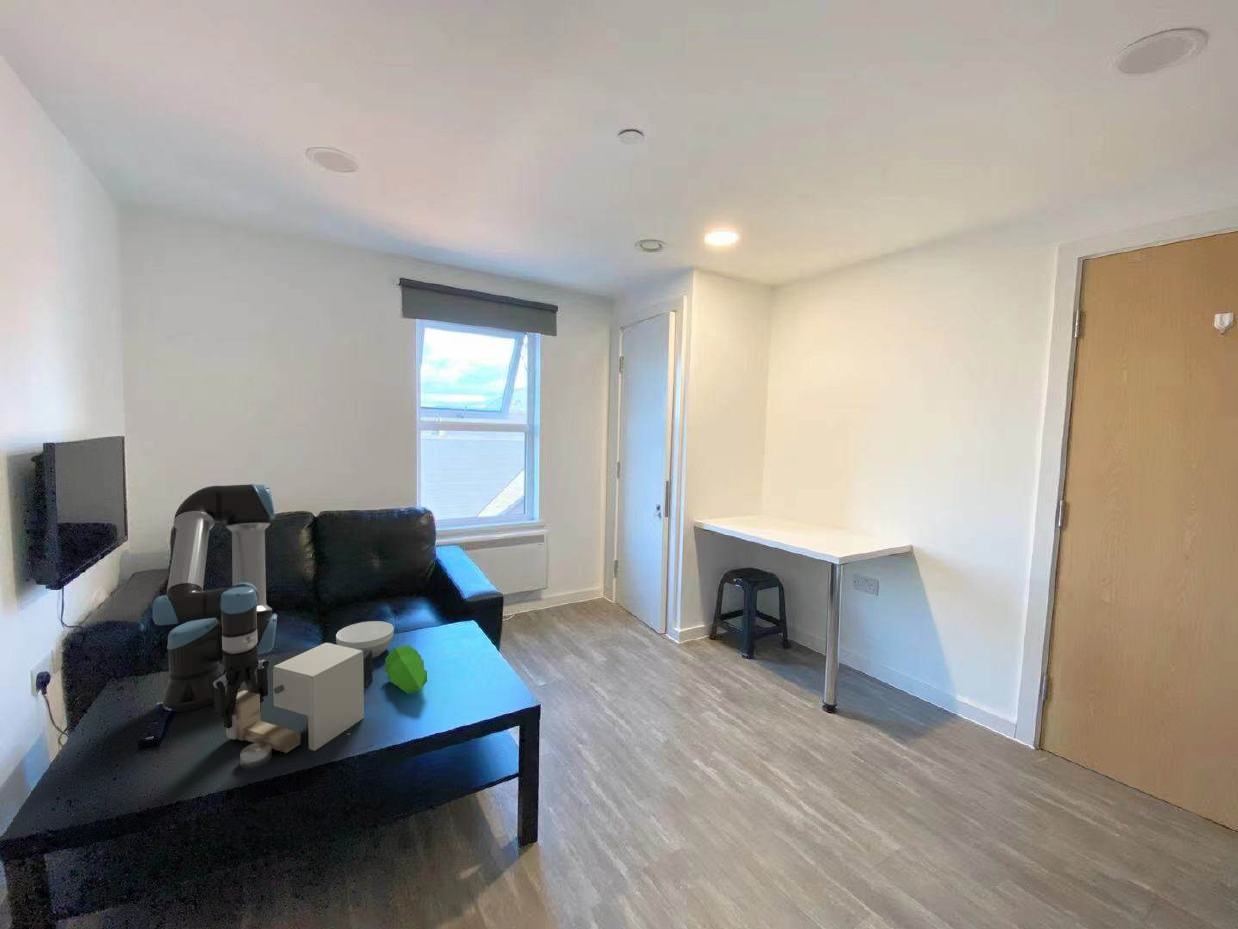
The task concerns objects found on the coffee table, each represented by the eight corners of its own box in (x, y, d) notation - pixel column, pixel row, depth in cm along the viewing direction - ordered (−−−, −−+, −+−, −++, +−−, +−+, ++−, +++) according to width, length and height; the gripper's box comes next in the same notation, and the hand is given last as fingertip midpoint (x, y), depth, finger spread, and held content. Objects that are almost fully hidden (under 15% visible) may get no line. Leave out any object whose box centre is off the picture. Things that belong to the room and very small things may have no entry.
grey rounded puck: (237, 772, 125) (236, 760, 125) (244, 756, 131) (243, 745, 130) (268, 765, 127) (268, 754, 127) (274, 750, 133) (273, 739, 133)
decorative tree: (406, 631, 179) (430, 663, 154) (420, 658, 182) (445, 693, 157) (373, 651, 173) (392, 686, 149) (388, 678, 176) (409, 718, 152)
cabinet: (268, 742, 136) (266, 669, 134) (327, 707, 153) (326, 642, 151) (307, 755, 131) (305, 680, 130) (364, 718, 148) (363, 650, 147)
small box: (373, 679, 170) (373, 649, 169) (364, 690, 163) (364, 658, 163) (341, 679, 170) (340, 648, 169) (330, 689, 163) (330, 657, 162)
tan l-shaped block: (226, 735, 136) (224, 699, 135) (245, 725, 141) (243, 690, 140) (284, 754, 129) (283, 716, 129) (302, 742, 134) (301, 706, 133)
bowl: (385, 639, 201) (385, 617, 200) (400, 657, 186) (400, 633, 186) (331, 651, 189) (330, 628, 188) (342, 672, 174) (342, 647, 174)
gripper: (213, 665, 126) (216, 755, 128) (283, 636, 143) (285, 716, 145) (192, 659, 128) (196, 748, 130) (263, 632, 145) (266, 711, 147)
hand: (243, 731), depth 138 cm, fingers closed on tan l-shaped block, 5 cm apart
